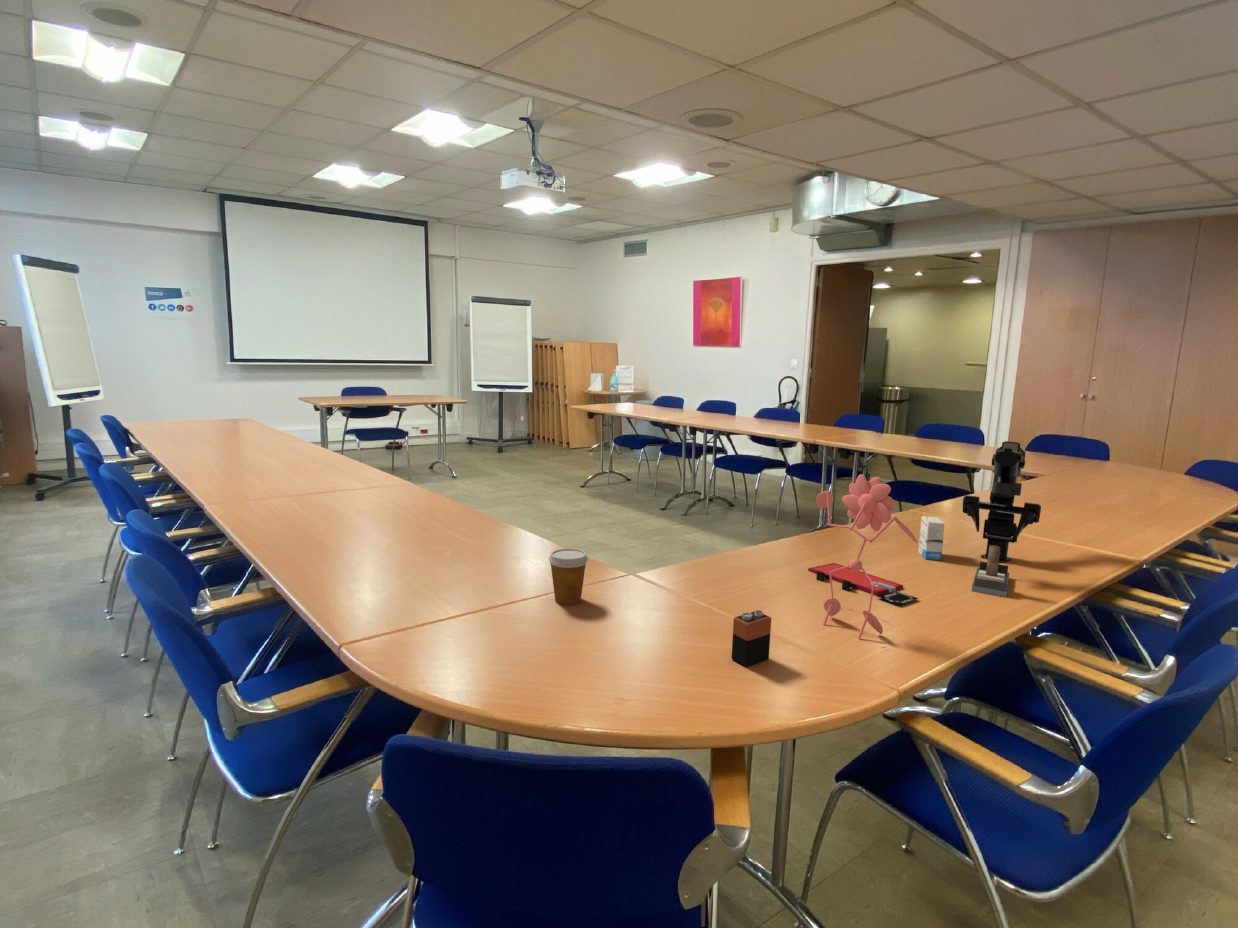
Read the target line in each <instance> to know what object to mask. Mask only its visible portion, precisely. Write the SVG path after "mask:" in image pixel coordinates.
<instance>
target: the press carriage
mask: <svg viewBox="0 0 1238 928" xmlns="http://www.w3.org/2000/svg"><path fill="white" fill-rule="evenodd" d="M999 556H1000V547H999V546H993V545H991V546H989V552H988V559H987V561H986V562H987V568H986V571H982V570H979V573H978V579H984V580H990V581H995V582H1001V583H1004V577H1005V574H999V573H997V572H998V564H1000V562H999Z"/></svg>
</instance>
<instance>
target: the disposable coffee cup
mask: <svg viewBox="0 0 1238 928" xmlns="http://www.w3.org/2000/svg"><path fill="white" fill-rule="evenodd" d="M588 558H589V557H588V555H587V552H585V551H584V550H582V549H578V548H570V547H569V548H560V549H559V548H558V549H554V550H553V551H551V552H550V555H549V557H548V561H549V563H550V567H551V568H550V569H551V577H552V584H553V585H552V586H553V593H554V600H555V603H556V604H558V605H563V606H573V605H577V604H579V603H580V602H581V600H582V593H583V587H584V586H583V585H584V580H585V574H586V573H585V571H586V566H587V565H586V564H587V562H588V560H589V559H588Z"/></svg>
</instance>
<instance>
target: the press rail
mask: <svg viewBox="0 0 1238 928" xmlns="http://www.w3.org/2000/svg"><path fill="white" fill-rule="evenodd" d="M986 568H987V561H979V567H976V570H975V571H976V572H975V574H974V578H973V581H972V584H971V592H975V593H980V594H981V593H982V594H985V595H992V596H998V597H1001V598H1002V597H1003V598H1007V594H1008V588H1009V579H1010V572H1008V571H1009V565H1004V564H1000V563H999V564H998V572H997V573H999V574H1005V577H1004V583H1001V582H995V581H990V580H984V579H978V573H979V570H982V571H986Z"/></svg>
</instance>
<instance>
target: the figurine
mask: <svg viewBox="0 0 1238 928" xmlns="http://www.w3.org/2000/svg"><path fill="white" fill-rule="evenodd" d="M848 490H849V494H846V495H844V496H842V497H841V500H842V503H843V505H844V506H845V507H847V508H848V510H847V512H846V513H847V517H848V518H849V519H852V520H854V521H853V523H852V525H844V524H843V525H842V524H834V523H832V522H831V521H832V519H831V505H833V502H834V499H835V498H834V494H833V493H832V492H831V491H830V490H826V491H822V492H820V493H818V494H817V496H816V499H815V503H816V505H817V508H819V510H823V509H826V508H827V524H828V527H833V528H834V527H835V528H843V529H849V530H850V531H851V532H854V533H855V534H856V535H858V536H859V537H861V539H863V542H862V544H861V547H860V549H859V552H858V554H857V557H856V558H854V559H851V560H850V562H849V565H846V566H845V565H844V566H845V567H842V568H839V569H836V570H832V571H830V572H829V575H830V579H829V583H830V594H831V597H829V598H826V600H825V601H824V602H823V607H824V610H825V612H826V614H825V617H824V620H823V623H822V624H823V625H826V624H827V621H828V618H829V616H830V617H833V616H835V615H837V614H838V613H840V611H841V610H844V611H850V612H855V613H860V614H863V617H864V620H863V622H862V625H861V628H860V631H859V634H858V637H857V638H858V639H861V638H862V635H863V632H864V630H865V628H866V627H865V626H867V625H866V624H867V623H868V624H869V625H870V627H871V628H873V629H874V630H875V631H876V632H877V633H878V634H880V635H883V632H884V631H883V626H882V624H881V622H880V621H883V622H884V623H887V624H888V625H890V626H892V624H891V623H890V622H888V621H886V620H884V619H882V618H879V617H877V616H876V615H874V614H873V613H872V612H871V608H872V603H873V595H874V594H873V591H874V583H873V581H872V580H871V579H870V577H869V576H868V575H867V574H868V573H867V572H866V571H865V570H864V568H863V562H862V561H861V560H860V556H861V554H862V553H863V550H864V547H865V546H866V543H867V541H868V542H870V543H873V542H874V541H875V540H877V538H878V537H879V536H880V535H881V534H882V533H883V532H884V531H885V530H886V529H887V528H888V527H889V526H890V525H891V524H893V522H894V521H895V523H896V524H897V525H898V527H899V528H900V529H901V530H902V531H903V532H904V533H905V534H906V535H907V536H908V537H909V538H910V539H911V540H912V541H914V543H916V544H917V543H918V540H917V538H916V536H915V535H914V533H913V532H912V531H911V530H910V529H909V528H908V527H907V526H906V525H905V524H904V523H903V522H902V521H901V520H900V518H898V517H897V516H895V515H894V516H892V514H891V512H890V511H892V510H894V509H897V503H896V501H895V500H894V499H893V498H892V497H891V496H889V494H891V491H892V488H891V486H890V485H889V484H887V483H882V479H881V477H880V476H874V477H872V478H871V479H870V480H867V478H866V476H865V475H864V474H863V473H861V474H859V475H858V476H857V478H856V480H855V483H854V482H851V483H849V486H848ZM883 523H884V524H885V525H884V526H883V527H882V525H883ZM869 525H870V527H871V529H872V530H873V531H876V532H877V533H876V534H874V535H873V536H872V538H870V537H869V536H867V535H865V534H864V533H862V532H861V531H859V530H863V529H865V528H866V527H868V526H869ZM855 527H856V528H857V529H856V528H855ZM847 567H848V568H851V569H852V570H854V571H861V572H864V573H865V575H866V576H867V577H868V579H869V580H870V581H871V583H872V584H873V586H872V593H870V594H871V595H870V598H869V599H870V600H869V606H868V610H867V609H864V610H863V611H862V612H861V611H857V610H853V609H852V608H851V609H850V608H849V609H848V608H841V607H842V605H841V603H840V601H839V600H838V599H837V598H835V597H834V589H833V580H832V577H831V572H834V571H838V570H841V569H844V568H847ZM878 619H879V620H880V621H879V620H878ZM884 648H886V646H882V647H881V649H884Z"/></svg>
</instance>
